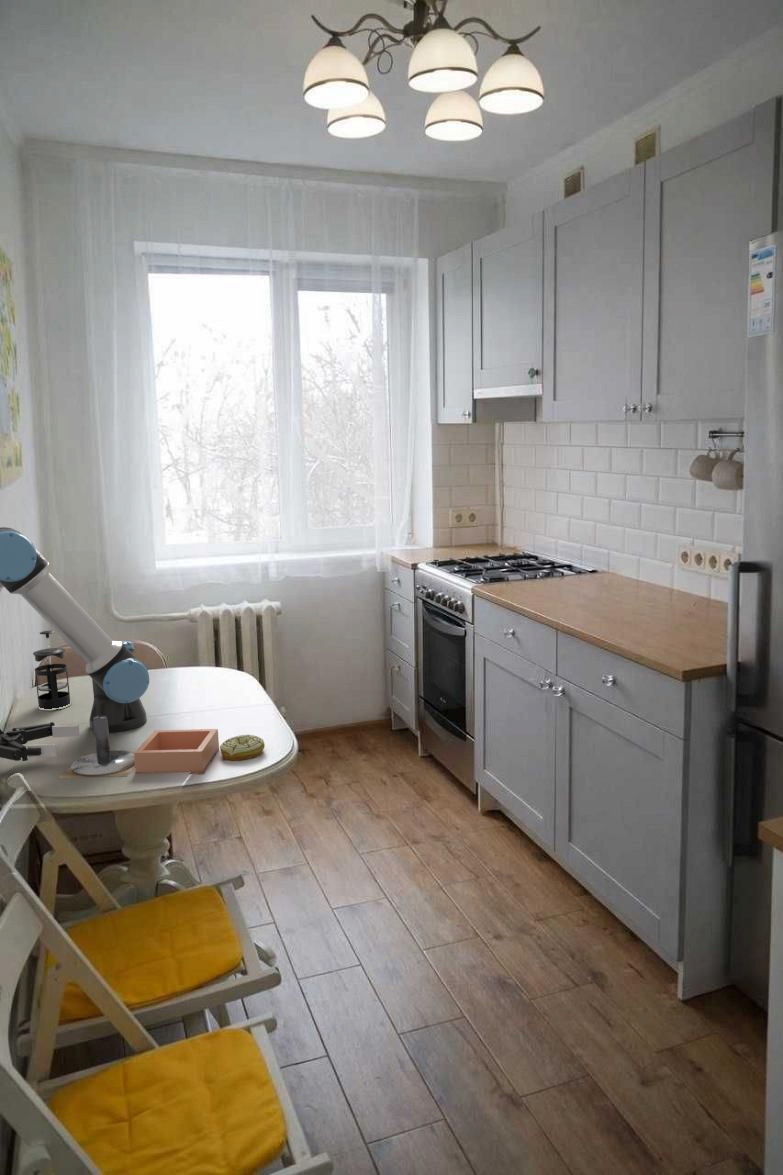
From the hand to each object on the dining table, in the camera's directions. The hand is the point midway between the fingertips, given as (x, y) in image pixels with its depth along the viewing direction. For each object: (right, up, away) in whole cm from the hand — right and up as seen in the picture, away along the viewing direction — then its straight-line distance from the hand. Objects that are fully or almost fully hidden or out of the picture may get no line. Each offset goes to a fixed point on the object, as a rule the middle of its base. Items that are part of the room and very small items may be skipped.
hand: (68, 740), depth 213 cm
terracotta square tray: (+26, -6, +2) cm, 27 cm away
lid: (+9, -6, +1) cm, 10 cm away
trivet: (+9, -7, +1) cm, 11 cm away
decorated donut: (+41, -5, +7) cm, 42 cm away
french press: (-23, +1, +54) cm, 59 cm away
